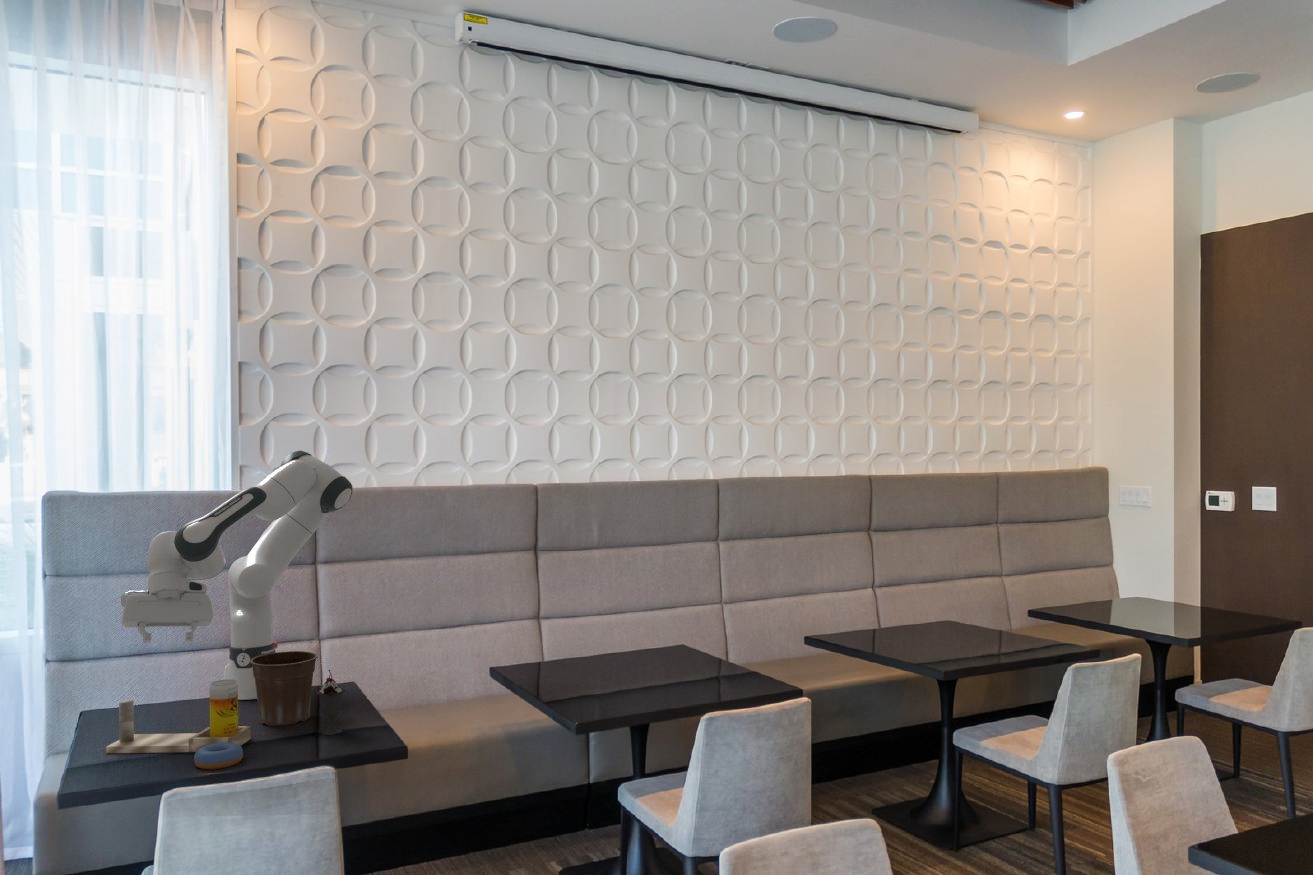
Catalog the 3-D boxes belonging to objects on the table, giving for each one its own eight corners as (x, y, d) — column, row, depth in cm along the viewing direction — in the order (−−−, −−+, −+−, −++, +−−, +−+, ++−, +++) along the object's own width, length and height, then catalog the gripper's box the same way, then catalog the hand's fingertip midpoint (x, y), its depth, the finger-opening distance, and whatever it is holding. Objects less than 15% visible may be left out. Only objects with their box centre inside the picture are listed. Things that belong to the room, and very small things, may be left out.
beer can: (228, 750, 228) (227, 685, 228) (204, 749, 229) (203, 684, 229) (243, 742, 233) (243, 679, 234) (220, 741, 235) (219, 678, 235)
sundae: (331, 727, 245) (330, 667, 246) (351, 730, 242) (350, 669, 243) (311, 734, 240) (310, 672, 240) (331, 737, 237) (330, 675, 237)
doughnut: (206, 773, 211) (207, 751, 211) (185, 766, 217) (186, 745, 218) (250, 766, 218) (252, 744, 219) (229, 760, 225) (230, 739, 225)
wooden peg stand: (106, 753, 226) (105, 707, 226) (129, 740, 236) (129, 696, 236) (232, 751, 226) (231, 705, 226) (250, 738, 236) (250, 694, 236)
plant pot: (319, 724, 248) (319, 660, 249) (250, 732, 243) (249, 666, 243) (316, 709, 264) (315, 648, 264) (251, 716, 258) (250, 654, 258)
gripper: (123, 584, 241) (122, 635, 233) (213, 585, 252) (215, 634, 245) (119, 597, 245) (118, 648, 237) (207, 597, 256) (209, 645, 249)
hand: (168, 640), depth 241 cm, fingers open, 8 cm apart
